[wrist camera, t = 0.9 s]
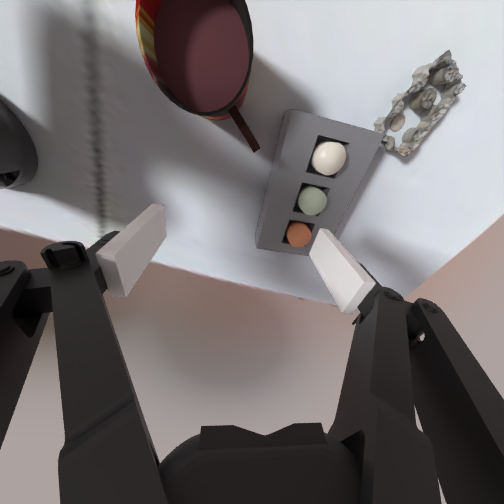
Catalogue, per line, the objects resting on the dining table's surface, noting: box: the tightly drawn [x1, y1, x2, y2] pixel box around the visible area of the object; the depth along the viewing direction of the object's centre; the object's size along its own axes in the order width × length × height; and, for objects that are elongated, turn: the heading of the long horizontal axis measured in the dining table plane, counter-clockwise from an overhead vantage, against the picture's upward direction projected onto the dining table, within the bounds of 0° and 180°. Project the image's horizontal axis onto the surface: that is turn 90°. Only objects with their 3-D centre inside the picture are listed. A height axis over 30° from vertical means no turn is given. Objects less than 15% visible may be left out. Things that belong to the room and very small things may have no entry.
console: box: [255, 109, 385, 256], centre depth 33 cm, size 14×22×5 cm, turn 169°
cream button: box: [310, 141, 346, 175], centre depth 27 cm, size 4×4×3 cm
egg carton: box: [374, 50, 466, 157], centre depth 27 cm, size 11×8×4 cm
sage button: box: [296, 185, 327, 215], centre depth 31 cm, size 4×4×3 cm
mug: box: [135, 0, 260, 153], centre depth 21 cm, size 10×14×12 cm
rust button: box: [285, 220, 312, 247], centre depth 34 cm, size 4×4×3 cm
